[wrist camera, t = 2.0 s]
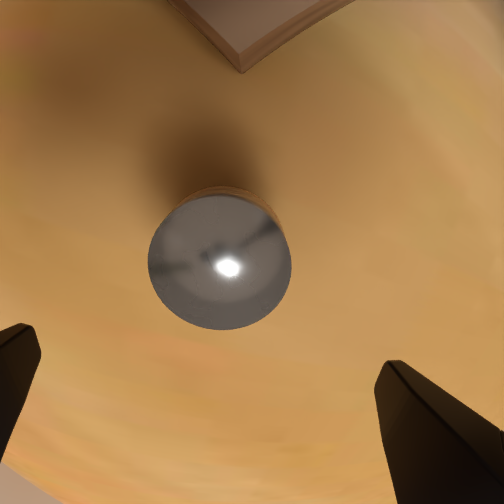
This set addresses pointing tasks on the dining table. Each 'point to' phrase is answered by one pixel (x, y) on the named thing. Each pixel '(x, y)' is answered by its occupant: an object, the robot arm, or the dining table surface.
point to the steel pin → (220, 259)
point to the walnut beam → (253, 24)
